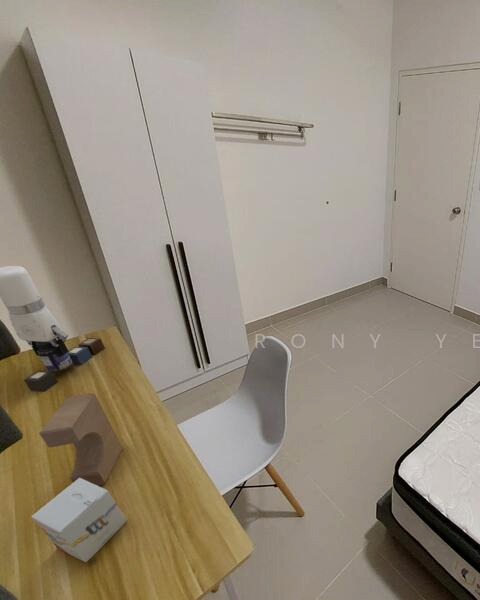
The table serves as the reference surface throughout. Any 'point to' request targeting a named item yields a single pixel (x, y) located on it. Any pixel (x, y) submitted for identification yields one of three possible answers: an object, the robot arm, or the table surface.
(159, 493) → the table surface
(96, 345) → the block
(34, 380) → the block
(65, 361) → the pill bottle
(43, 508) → the ink box
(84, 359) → the block
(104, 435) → the decorative block
